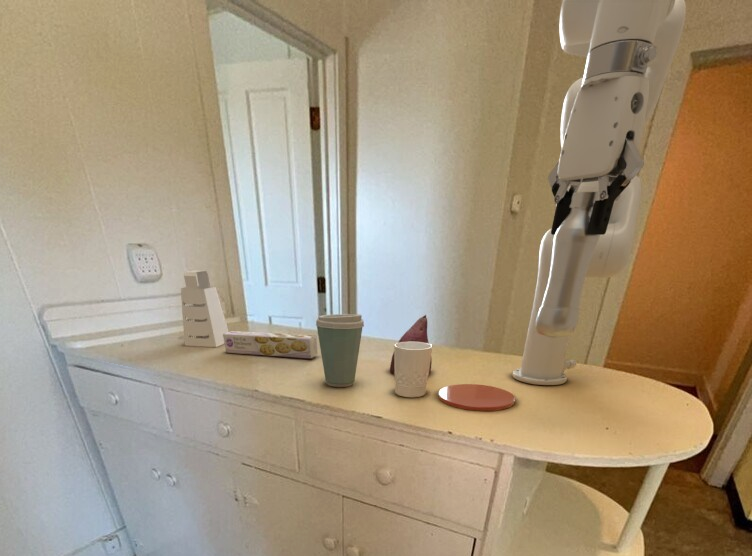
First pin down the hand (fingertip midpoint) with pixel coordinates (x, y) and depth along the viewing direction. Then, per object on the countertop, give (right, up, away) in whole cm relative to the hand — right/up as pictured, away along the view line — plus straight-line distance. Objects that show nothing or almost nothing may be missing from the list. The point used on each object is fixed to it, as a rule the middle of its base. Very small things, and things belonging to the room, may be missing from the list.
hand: (577, 233), depth 65 cm
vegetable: (-21, -7, +43) cm, 49 cm away
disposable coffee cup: (-38, -13, +34) cm, 53 cm away
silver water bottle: (0, -13, +8) cm, 15 cm away
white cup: (-23, -17, +28) cm, 40 cm away
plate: (-9, -19, +26) cm, 33 cm away
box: (-60, +2, +58) cm, 83 cm away
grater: (-83, +11, +71) cm, 110 cm away
